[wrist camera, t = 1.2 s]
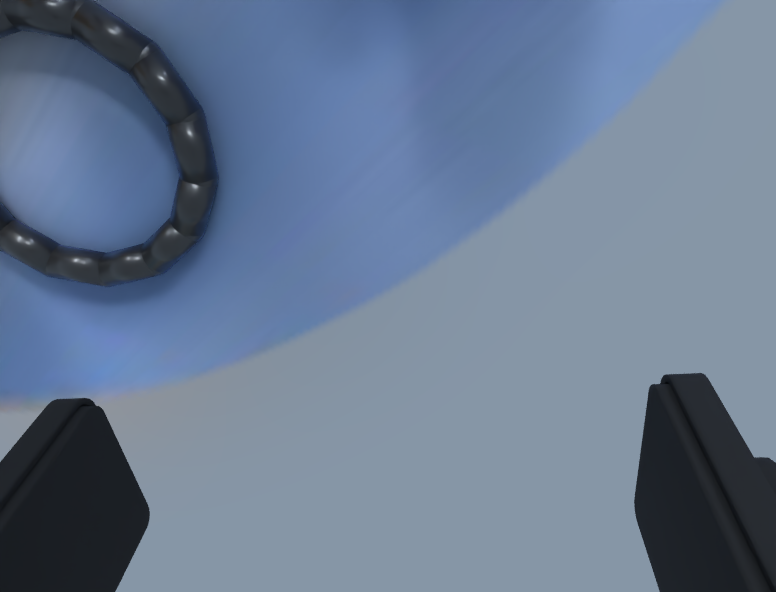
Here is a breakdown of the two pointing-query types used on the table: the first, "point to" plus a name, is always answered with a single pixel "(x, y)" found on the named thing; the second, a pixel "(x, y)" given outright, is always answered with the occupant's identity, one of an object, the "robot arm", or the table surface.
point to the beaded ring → (186, 132)
